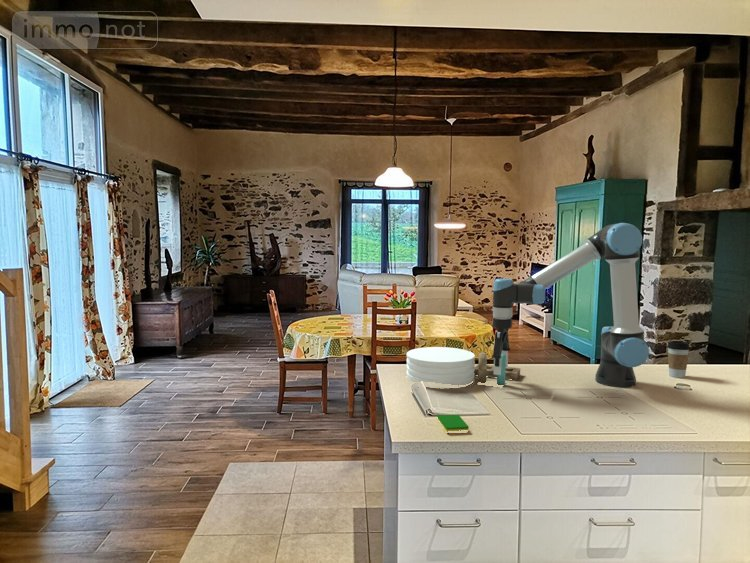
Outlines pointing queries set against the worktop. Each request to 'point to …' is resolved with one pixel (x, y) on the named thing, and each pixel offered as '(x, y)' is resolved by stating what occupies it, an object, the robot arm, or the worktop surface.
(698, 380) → the worktop surface
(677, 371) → the coffee cup
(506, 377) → the walnut block
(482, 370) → the oak dowel
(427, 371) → the plate stack
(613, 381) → the robot arm
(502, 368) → the teal dowel
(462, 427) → the dish sponge
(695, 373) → the worktop surface
